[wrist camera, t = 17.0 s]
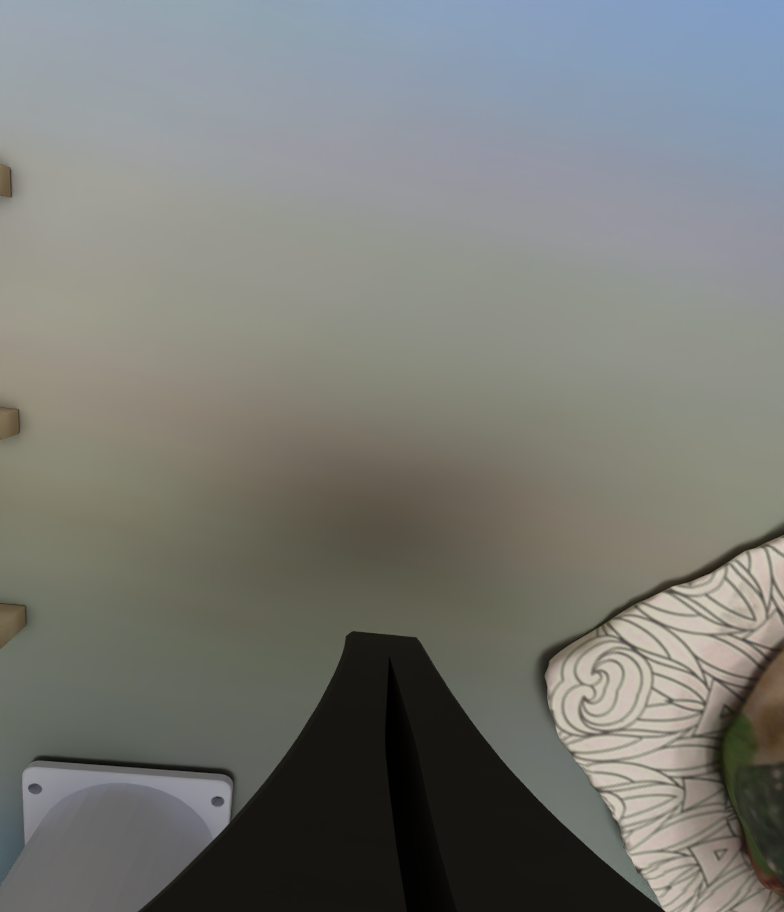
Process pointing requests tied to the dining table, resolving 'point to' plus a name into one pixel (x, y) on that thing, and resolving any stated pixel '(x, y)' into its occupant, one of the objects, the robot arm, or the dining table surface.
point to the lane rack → (3, 423)
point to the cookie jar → (689, 732)
